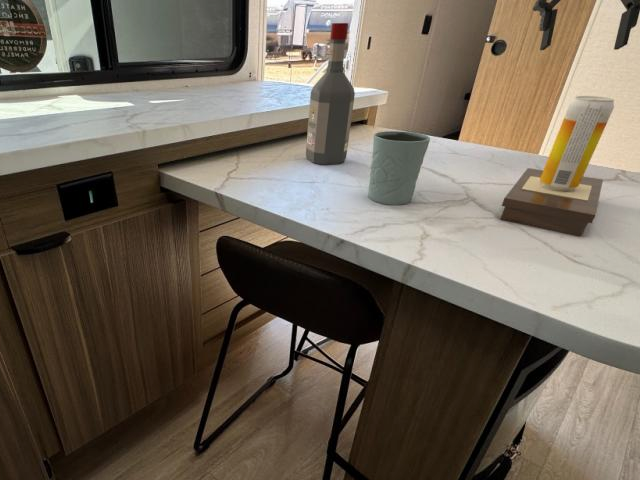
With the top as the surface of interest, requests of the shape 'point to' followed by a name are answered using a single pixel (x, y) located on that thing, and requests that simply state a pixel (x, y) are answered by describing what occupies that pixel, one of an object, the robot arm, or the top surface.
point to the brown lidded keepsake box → (552, 204)
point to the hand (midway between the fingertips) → (582, 47)
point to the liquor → (331, 106)
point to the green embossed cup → (396, 166)
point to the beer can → (576, 142)
